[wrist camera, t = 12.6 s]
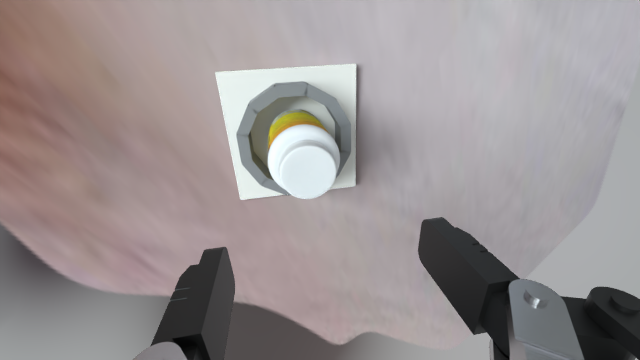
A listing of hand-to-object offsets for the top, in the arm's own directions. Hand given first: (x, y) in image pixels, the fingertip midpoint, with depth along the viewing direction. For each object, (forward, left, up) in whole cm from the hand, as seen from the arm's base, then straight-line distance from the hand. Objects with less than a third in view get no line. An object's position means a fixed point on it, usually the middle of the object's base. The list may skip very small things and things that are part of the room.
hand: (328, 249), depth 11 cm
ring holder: (0, 0, -19) cm, 19 cm away
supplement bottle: (0, 0, -18) cm, 18 cm away
